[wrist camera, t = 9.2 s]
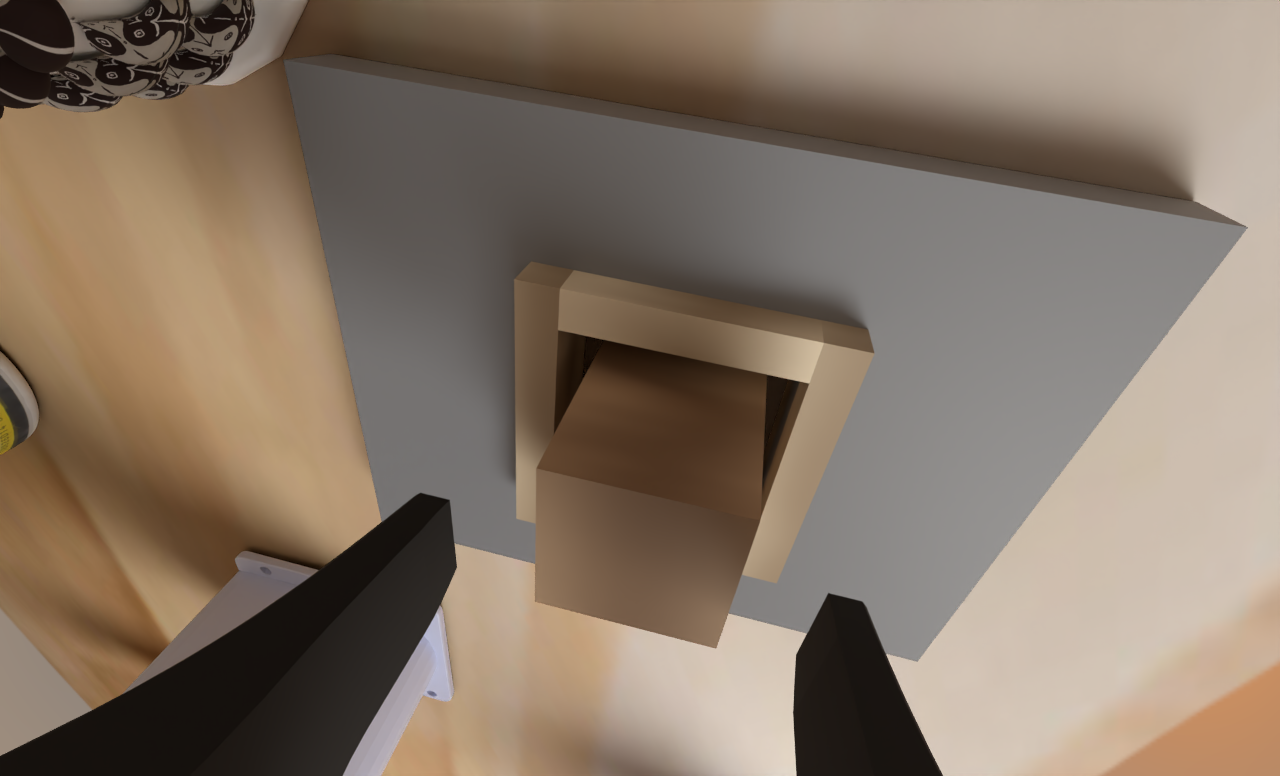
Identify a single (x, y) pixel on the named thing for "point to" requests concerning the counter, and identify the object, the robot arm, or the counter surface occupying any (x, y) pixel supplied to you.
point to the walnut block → (652, 492)
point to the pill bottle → (15, 407)
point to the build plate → (734, 316)
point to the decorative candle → (133, 48)
